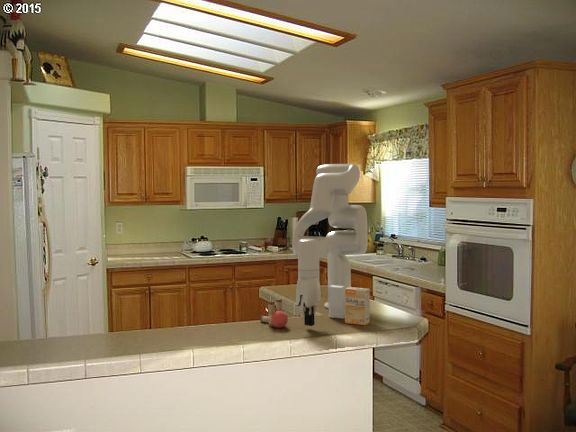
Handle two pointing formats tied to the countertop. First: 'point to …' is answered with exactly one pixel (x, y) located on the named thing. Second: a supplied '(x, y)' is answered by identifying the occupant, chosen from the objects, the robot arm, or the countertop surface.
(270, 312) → the pin
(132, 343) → the countertop surface
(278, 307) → the pin
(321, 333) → the countertop surface
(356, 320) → the supplement box
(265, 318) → the front pin
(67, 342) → the countertop surface
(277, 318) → the ball
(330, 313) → the skincare box
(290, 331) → the countertop surface
